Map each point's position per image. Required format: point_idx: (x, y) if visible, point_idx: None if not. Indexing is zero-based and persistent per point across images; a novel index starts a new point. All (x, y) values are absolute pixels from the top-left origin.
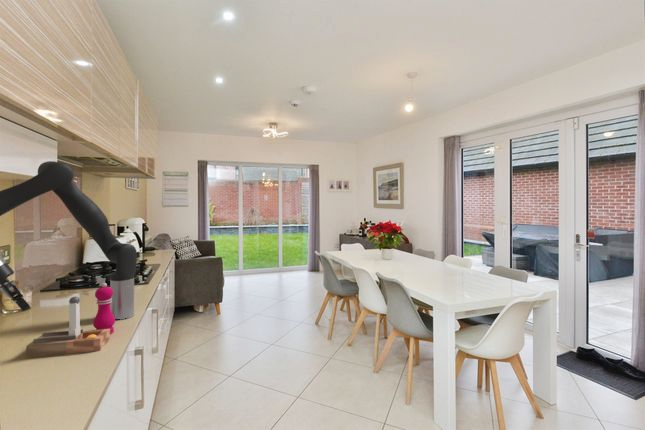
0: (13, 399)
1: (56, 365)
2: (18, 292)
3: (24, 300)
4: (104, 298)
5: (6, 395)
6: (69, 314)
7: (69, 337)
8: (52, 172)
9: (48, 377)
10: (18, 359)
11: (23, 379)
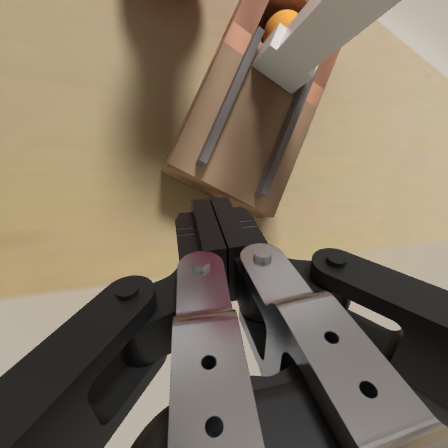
0: (441, 230)
1: (350, 154)
2: (437, 299)
3: (246, 235)
4: None
5: (423, 241)
6: (363, 29)
7: (308, 90)
8: None
9: (398, 175)
10: None
11: (379, 218)
